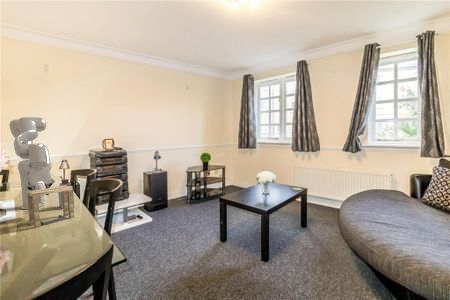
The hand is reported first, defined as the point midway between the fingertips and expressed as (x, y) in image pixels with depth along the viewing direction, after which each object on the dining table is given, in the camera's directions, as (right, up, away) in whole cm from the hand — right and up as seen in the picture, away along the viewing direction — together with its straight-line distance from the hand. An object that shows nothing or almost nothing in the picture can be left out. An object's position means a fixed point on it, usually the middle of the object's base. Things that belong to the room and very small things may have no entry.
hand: (40, 196), depth 139 cm
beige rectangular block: (+3, -11, +19) cm, 22 cm away
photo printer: (0, -3, 0) cm, 3 cm away
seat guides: (+13, -12, -8) cm, 19 cm away
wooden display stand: (+13, -12, -8) cm, 19 cm away
